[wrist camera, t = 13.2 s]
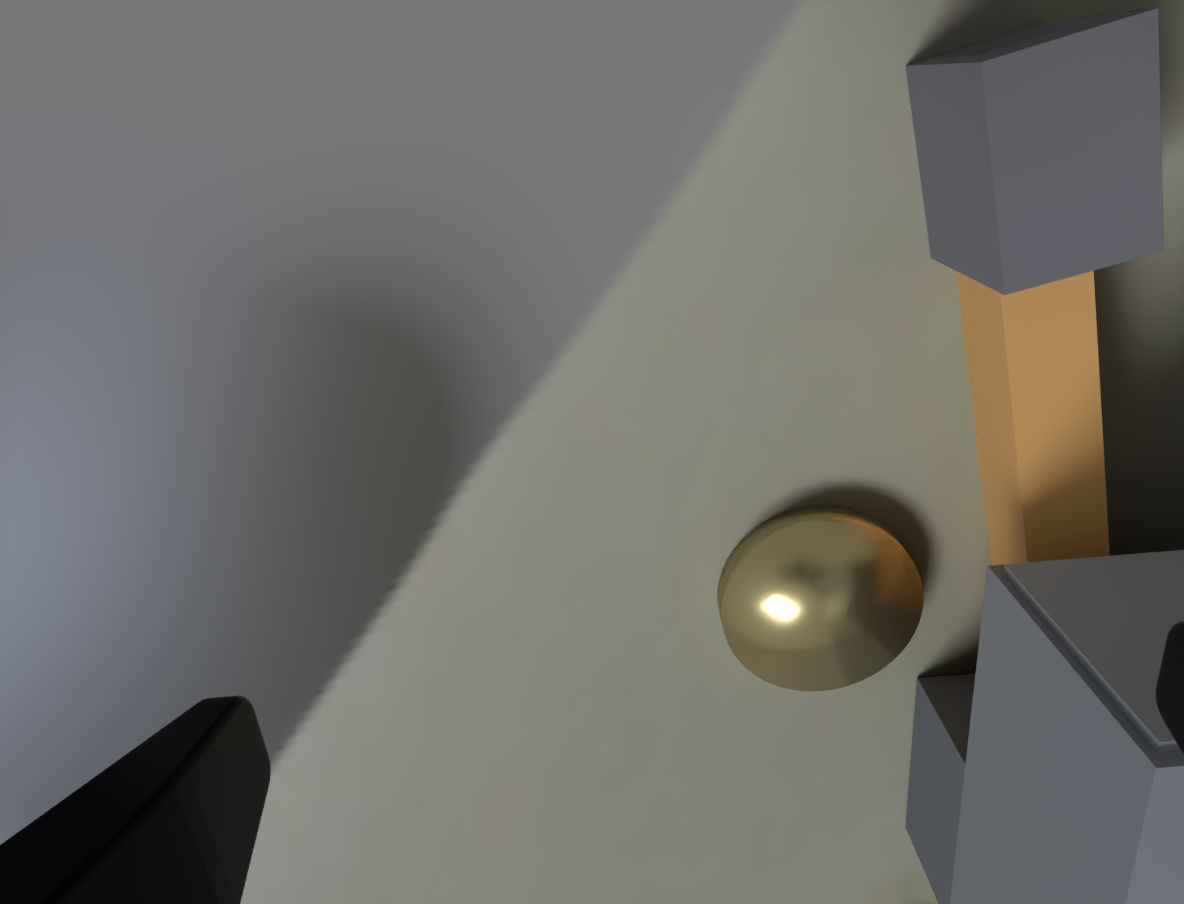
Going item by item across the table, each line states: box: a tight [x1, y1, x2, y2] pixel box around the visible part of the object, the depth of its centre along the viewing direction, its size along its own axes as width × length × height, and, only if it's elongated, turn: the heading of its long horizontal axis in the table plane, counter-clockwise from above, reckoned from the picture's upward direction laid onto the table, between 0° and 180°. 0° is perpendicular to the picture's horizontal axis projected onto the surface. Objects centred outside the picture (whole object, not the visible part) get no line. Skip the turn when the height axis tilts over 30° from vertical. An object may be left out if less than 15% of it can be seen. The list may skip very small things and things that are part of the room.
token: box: [718, 505, 923, 691], centre depth 22 cm, size 5×5×1 cm
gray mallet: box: [906, 8, 1164, 565], centre depth 18 cm, size 3×15×4 cm, turn 16°
